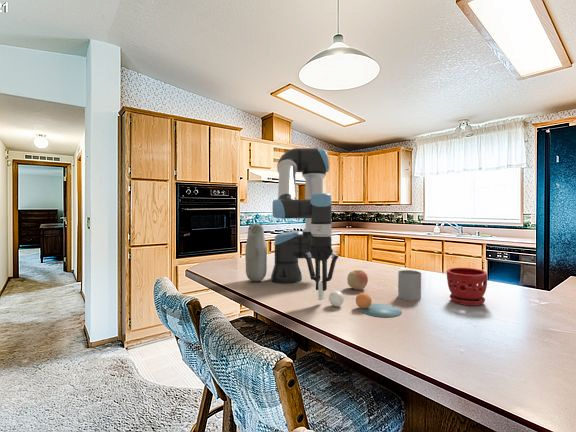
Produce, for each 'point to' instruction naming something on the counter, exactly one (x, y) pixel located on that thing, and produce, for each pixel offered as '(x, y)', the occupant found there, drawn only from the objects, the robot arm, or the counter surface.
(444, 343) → the counter surface
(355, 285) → the apple
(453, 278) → the plant pot
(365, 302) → the orange ball
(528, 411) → the counter surface
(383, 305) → the teal mark
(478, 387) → the counter surface
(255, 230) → the grey bottle
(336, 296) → the cue ball
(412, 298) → the cup
